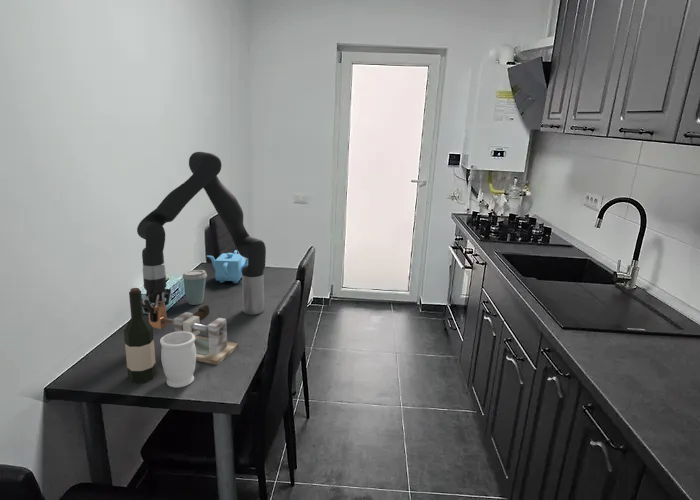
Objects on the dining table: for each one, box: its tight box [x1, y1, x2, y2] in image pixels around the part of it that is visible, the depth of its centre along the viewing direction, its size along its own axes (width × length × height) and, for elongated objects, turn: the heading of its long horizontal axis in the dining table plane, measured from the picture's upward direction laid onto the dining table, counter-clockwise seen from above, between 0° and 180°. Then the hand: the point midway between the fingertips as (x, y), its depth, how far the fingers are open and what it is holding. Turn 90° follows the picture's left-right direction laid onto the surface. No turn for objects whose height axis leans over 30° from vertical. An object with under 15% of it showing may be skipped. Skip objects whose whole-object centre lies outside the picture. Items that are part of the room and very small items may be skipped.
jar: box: [159, 331, 197, 388], centre depth 145 cm, size 11×10×15 cm
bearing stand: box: [173, 311, 240, 366], centre depth 165 cm, size 14×22×12 cm, turn 73°
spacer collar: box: [183, 316, 201, 336], centre depth 166 cm, size 6×2×6 cm, turn 163°
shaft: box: [148, 303, 208, 333], centre depth 167 cm, size 4×24×8 cm, turn 73°
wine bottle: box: [123, 287, 157, 383], centre depth 145 cm, size 8×8×30 cm
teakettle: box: [206, 249, 248, 284], centre depth 242 cm, size 19×19×15 cm
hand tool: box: [193, 305, 210, 320], centre depth 191 cm, size 19×4×5 cm, turn 160°
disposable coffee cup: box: [182, 269, 208, 306], centre depth 210 cm, size 11×11×15 cm
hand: (158, 319), depth 170 cm, fingers closed on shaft, 3 cm apart
